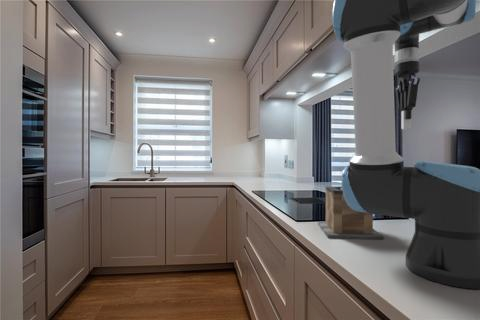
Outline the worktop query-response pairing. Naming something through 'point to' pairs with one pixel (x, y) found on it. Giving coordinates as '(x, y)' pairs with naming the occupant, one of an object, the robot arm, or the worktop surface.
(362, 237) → the tan stepped shape
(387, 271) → the worktop surface
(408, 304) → the worktop surface
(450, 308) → the worktop surface
